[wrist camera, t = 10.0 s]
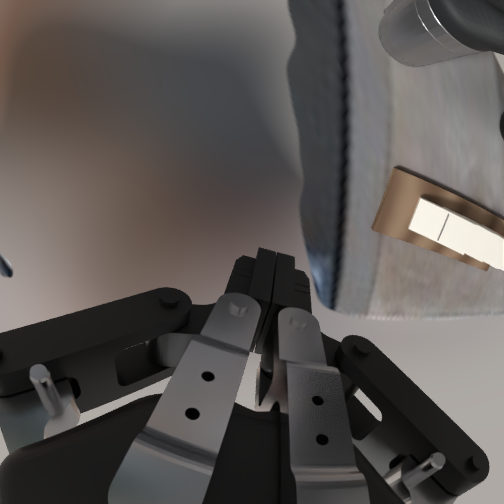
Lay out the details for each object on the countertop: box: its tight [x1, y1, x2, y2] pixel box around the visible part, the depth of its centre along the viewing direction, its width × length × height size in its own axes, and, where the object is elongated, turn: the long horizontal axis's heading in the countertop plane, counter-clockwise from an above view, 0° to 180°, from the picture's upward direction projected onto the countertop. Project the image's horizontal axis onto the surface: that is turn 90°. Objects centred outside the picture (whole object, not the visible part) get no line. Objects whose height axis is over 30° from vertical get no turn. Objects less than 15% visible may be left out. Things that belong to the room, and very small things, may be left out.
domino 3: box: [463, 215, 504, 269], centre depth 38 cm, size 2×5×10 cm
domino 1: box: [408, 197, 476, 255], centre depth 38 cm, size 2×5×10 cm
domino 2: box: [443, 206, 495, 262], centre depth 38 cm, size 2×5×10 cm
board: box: [371, 167, 504, 271], centre depth 41 cm, size 26×10×1 cm, turn 77°
